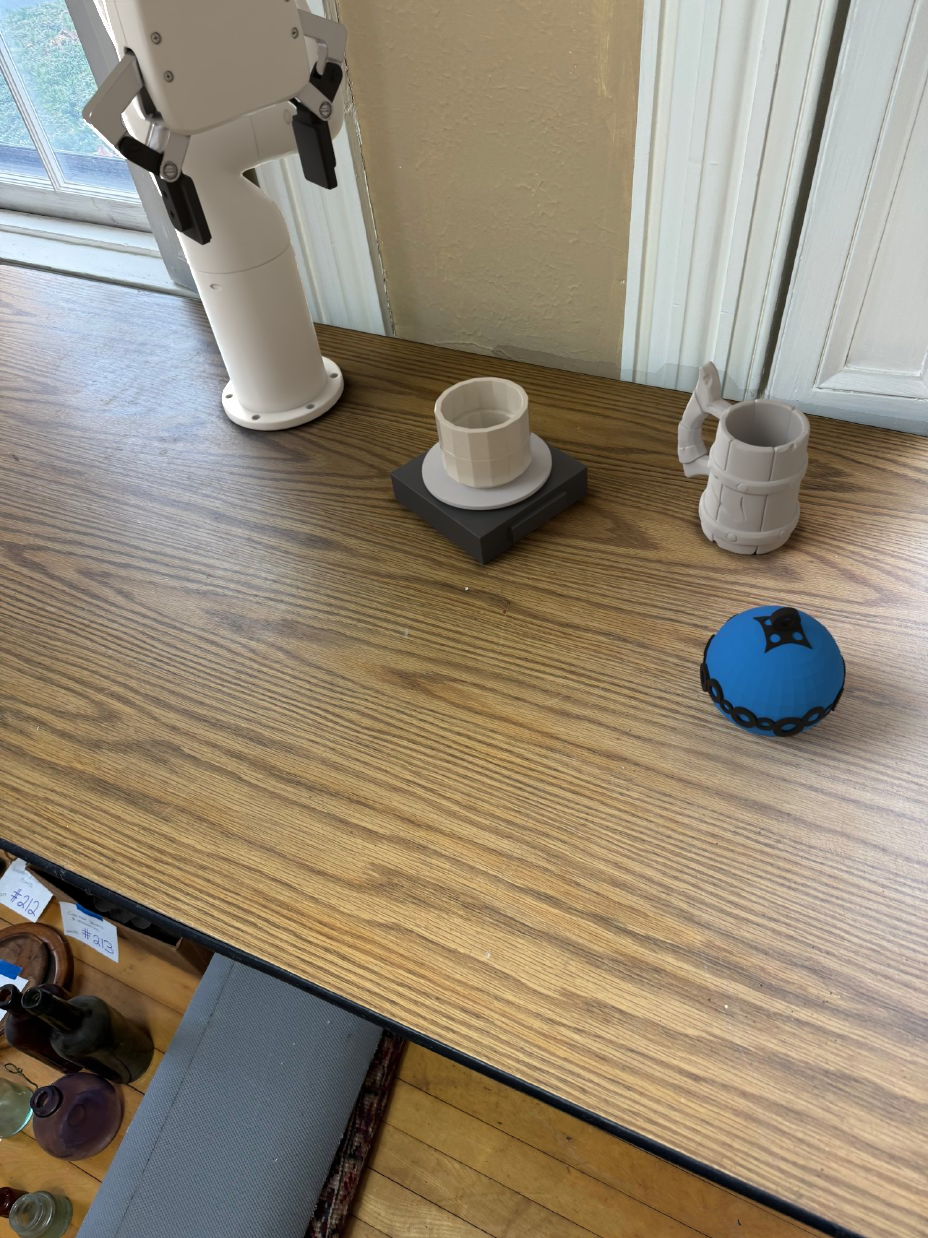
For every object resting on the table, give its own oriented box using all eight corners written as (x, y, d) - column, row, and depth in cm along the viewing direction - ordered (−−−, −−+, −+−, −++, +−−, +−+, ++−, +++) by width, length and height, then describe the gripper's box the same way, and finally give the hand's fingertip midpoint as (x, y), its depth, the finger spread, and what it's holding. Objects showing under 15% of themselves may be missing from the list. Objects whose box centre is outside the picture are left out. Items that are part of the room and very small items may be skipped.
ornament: (808, 654, 60) (839, 552, 52) (847, 759, 54) (888, 661, 47) (684, 665, 61) (697, 565, 53) (710, 770, 55) (729, 674, 47)
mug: (747, 572, 66) (772, 446, 57) (643, 496, 73) (650, 373, 64) (817, 528, 68) (851, 400, 59) (709, 458, 75) (725, 334, 66)
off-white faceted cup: (427, 465, 73) (416, 406, 68) (491, 426, 75) (485, 366, 71) (483, 505, 69) (476, 444, 64) (550, 461, 71) (547, 400, 67)
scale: (395, 499, 76) (388, 466, 73) (495, 437, 80) (492, 403, 78) (487, 568, 69) (483, 534, 66) (592, 496, 73) (592, 461, 71)
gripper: (270, -167, 49) (336, 152, 61) (-24, -96, 42) (118, 244, 55) (344, -166, 45) (399, 177, 57) (30, -87, 38) (170, 279, 51)
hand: (261, 209), depth 56 cm, fingers open, 9 cm apart
